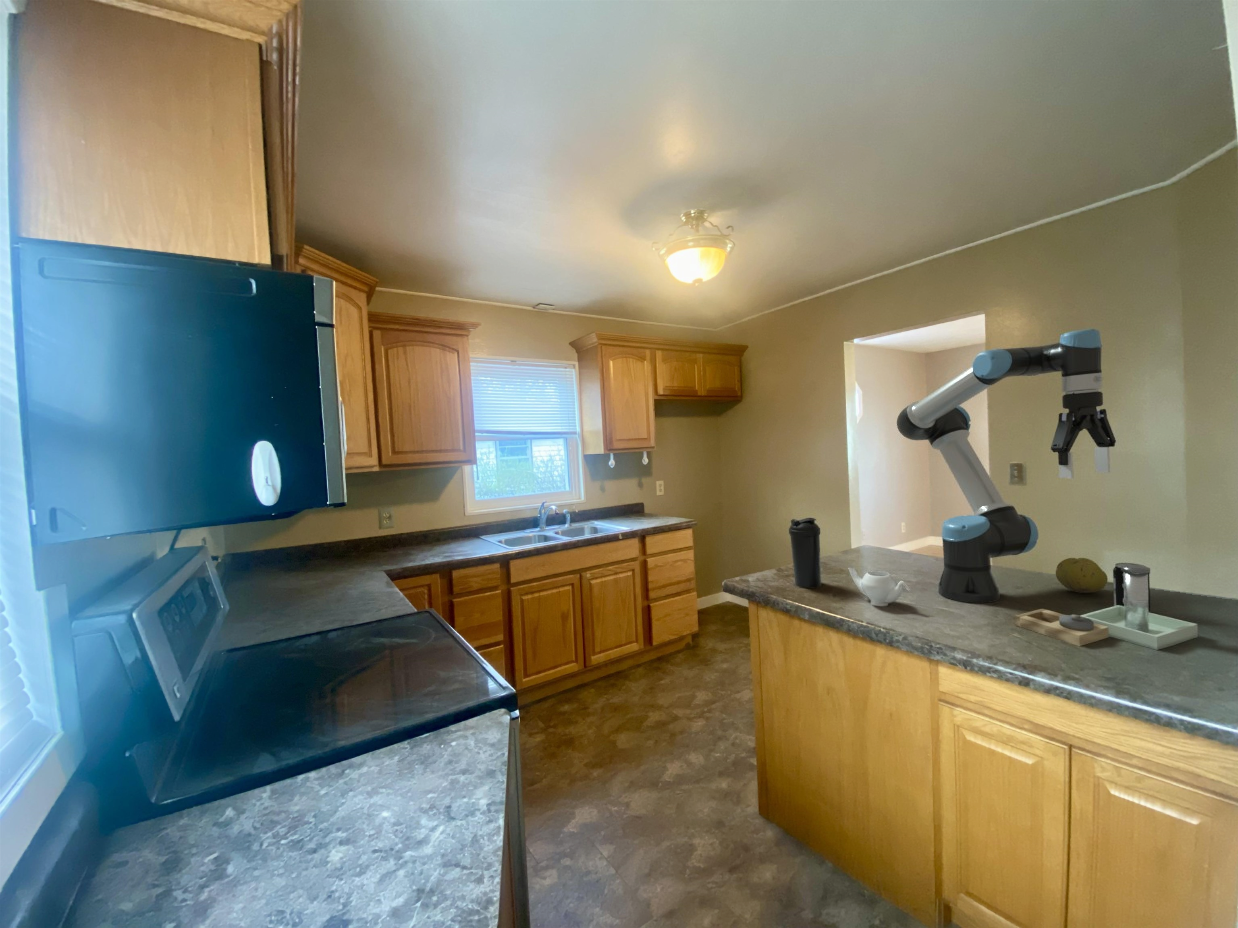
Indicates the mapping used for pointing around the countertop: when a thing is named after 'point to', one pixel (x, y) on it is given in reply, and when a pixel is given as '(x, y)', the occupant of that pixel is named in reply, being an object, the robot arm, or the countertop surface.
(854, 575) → the teapot
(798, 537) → the water bottle
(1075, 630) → the block
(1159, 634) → the tray
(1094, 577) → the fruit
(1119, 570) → the beverage can
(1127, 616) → the pin
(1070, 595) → the countertop surface
